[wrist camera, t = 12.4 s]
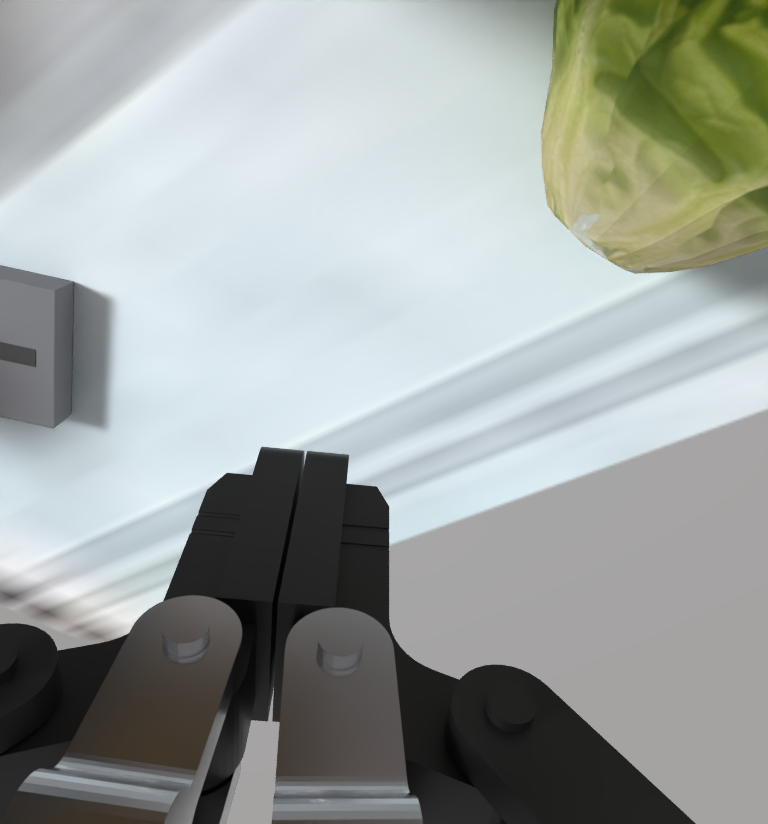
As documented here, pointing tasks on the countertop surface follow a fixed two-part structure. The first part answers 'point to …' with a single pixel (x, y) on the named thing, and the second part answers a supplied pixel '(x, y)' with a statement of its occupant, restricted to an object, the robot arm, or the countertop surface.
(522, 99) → the countertop surface
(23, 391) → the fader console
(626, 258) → the lettuce
